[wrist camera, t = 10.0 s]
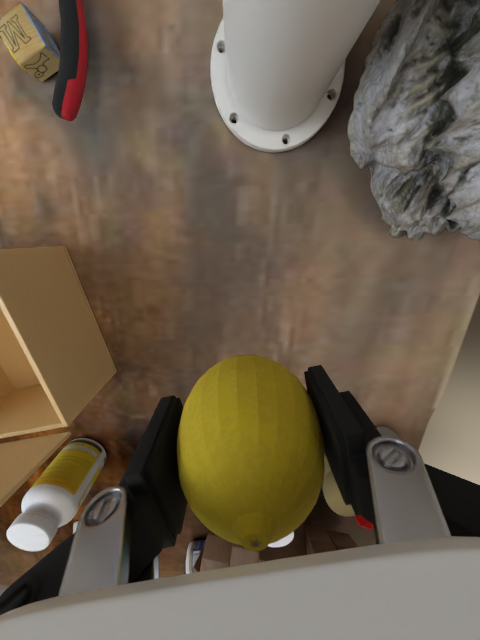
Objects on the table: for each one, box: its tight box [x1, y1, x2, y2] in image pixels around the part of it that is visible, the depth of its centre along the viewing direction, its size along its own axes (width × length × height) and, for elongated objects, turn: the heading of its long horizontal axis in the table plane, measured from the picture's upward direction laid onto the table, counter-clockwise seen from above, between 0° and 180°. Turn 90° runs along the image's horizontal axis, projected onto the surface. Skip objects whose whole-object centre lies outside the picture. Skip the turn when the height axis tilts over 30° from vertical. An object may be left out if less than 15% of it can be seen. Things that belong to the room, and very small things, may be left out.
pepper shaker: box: [323, 453, 355, 516], centre depth 33 cm, size 6×6×11 cm
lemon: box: [177, 355, 325, 551], centre depth 10 cm, size 6×6×8 cm
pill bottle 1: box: [7, 438, 106, 551], centre depth 33 cm, size 6×6×12 cm
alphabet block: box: [0, 2, 60, 82], centre depth 22 cm, size 3×3×3 cm
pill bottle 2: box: [186, 539, 206, 574], centre depth 43 cm, size 5×5×10 cm
